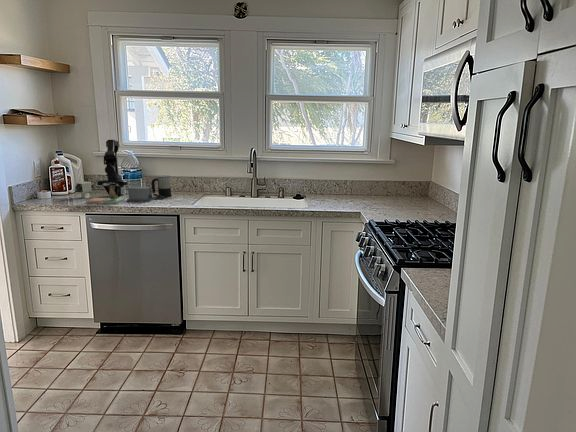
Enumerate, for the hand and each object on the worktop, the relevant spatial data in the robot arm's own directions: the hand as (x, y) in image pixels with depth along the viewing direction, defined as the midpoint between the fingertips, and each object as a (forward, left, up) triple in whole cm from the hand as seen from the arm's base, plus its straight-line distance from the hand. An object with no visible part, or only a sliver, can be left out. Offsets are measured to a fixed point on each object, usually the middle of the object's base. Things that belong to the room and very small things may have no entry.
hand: (113, 195), depth 290 cm
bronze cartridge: (0, 0, -2) cm, 2 cm away
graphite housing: (-9, +15, -4) cm, 18 cm away
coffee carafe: (-22, +25, -5) cm, 34 cm away
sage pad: (0, 0, -4) cm, 4 cm away
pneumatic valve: (-12, -28, -5) cm, 31 cm away
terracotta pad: (0, -12, -4) cm, 13 cm away
